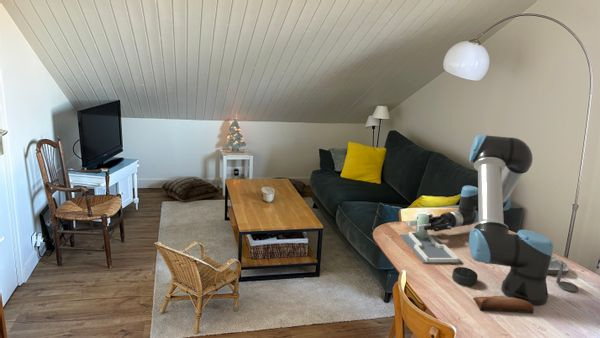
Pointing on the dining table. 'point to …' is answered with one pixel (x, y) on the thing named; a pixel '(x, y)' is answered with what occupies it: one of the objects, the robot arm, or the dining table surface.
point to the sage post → (420, 221)
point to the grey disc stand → (564, 284)
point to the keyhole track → (430, 249)
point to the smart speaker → (464, 276)
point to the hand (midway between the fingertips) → (413, 225)
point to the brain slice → (556, 266)
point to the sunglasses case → (503, 304)
